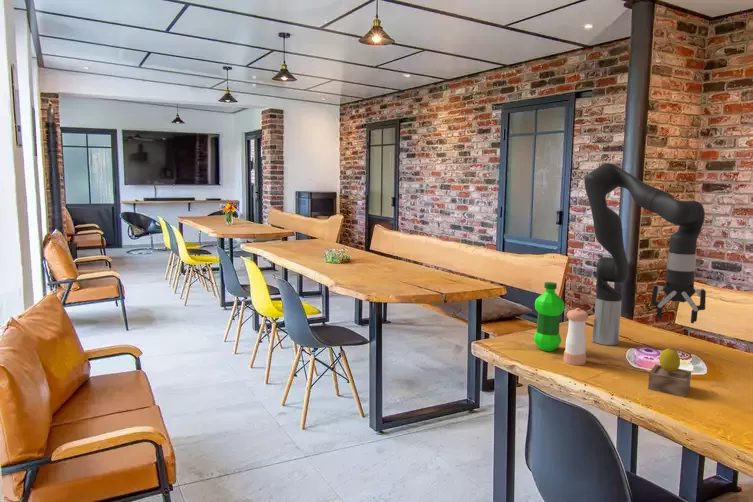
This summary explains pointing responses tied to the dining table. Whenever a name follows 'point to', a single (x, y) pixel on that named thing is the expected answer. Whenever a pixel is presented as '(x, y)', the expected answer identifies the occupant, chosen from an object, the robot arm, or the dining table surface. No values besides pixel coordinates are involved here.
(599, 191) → the robot arm
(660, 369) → the walnut box
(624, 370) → the dining table surface
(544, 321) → the plastic bottle
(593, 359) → the dining table surface
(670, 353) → the lemon
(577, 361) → the salt shaker
